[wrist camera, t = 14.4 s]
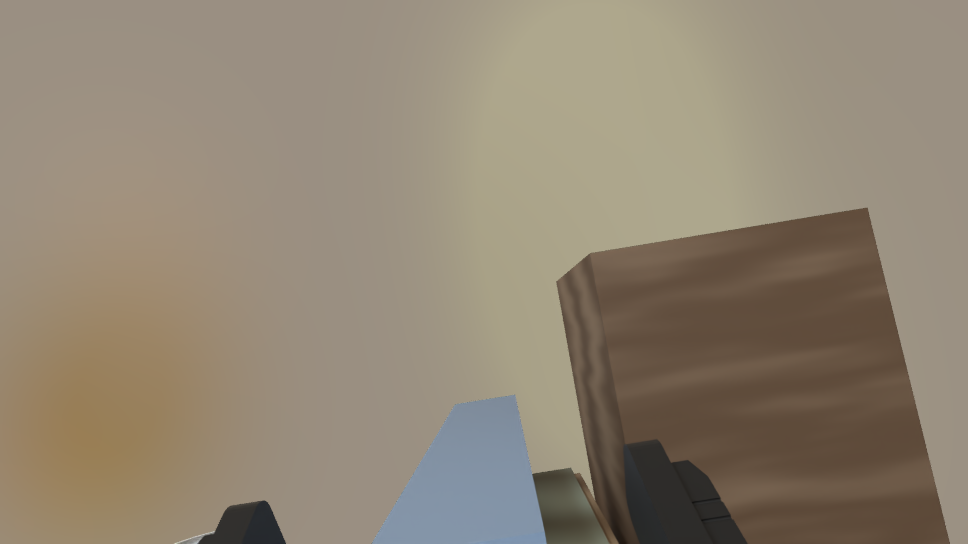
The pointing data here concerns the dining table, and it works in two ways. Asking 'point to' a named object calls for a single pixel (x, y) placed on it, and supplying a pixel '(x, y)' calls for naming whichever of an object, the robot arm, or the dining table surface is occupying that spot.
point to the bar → (471, 483)
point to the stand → (756, 380)
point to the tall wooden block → (570, 510)
